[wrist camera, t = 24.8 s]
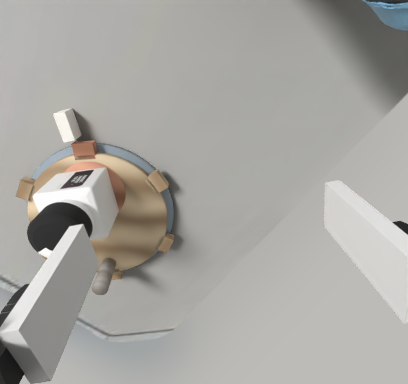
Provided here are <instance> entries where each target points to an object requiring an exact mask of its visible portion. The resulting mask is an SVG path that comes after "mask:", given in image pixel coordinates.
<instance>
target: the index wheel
mask: <svg viewBox="0 0 408 384" xmlns="http://www.w3.org/2000/svg"><path fill="white" fill-rule="evenodd" d="M71 145H72V149H73V153H74V154H73V155H69V156H67V157H64V158H62V159H60V160H58V161H56V162H55V163H53V164H52V165H51V166H49V167H48V168H47V169H46V170H45V171H43V172H42V173H41V174H40V176H39V177H38V178H37V179H36V180H33V179H30V178H28V177H24V178H23V179H22V180H20V184H19V187H18V191H17V194H16V197H19V198H21V199H24V200H27V201H28V216H29V220H30V223H31V221H32V220H33V219H34V218H35V217H36V216H37V215H38V214H39V211H38V209H37V207H36V204H35V202H34V200H33V195H34V194H35V193H36V192H37V191H38V190H39V189H40V188H42V187H43V186H44V185H45V184H46V183H47V182H48V181H49V180H50V179H51V178H53V177H54V176H55V175H56V174H59V173H67V172H74V171H81V170H89V169H96V168H103V167H105V168H107V171H108V174H109V178H110V181H111V185H112V188H113V192H114V195H115V199H116V202H117V206H118V209H119V212H118V214H117V216H116V219H115V221H114V223H113V226H112V228H111V230H110V232H109V235H108V237H106V238H101V239H93V240H90V241H91V244H92V246H93V249H94V251H95V254H96V256H97V259H98V261H99V267H98V269H97V271H96V272H98V274H97V277H96V279H95V281H94V284H93V286H92V291H93V292H94V293H95V294H97V295H104V294H106V293H107V291H108V288H109V285H110V282H111V280H116V279H121V278H122V275H123V270H127V269H130V268H133V267H135V266H137V265H139V264H141V263H143V262H144V261H146V260H147V259H149V258H150V257H151V256H152V255H153V254H154V253H155V252H156V251H157V250H159V251H162V252H164V253H167V252H168V250H169V248H170V247H171V245H172V243H173V241H174V235H172V234H169V233H166V228H167V219H168V216H167V206H166V202H165V199H164V196H163V194H162V192H161V191H163V190H165V189H166V188H168V187H169V183H168V181H167V180H166V179H165V177H164V176H163V175H162V173H161V172H160V171H159V170H158V169H157V170H155V171H154V172H152V173H151V174H149V175H148V174H147V173H146V172H145V171H144V170H143V169H141V168H140V167H138V166H137V165H136V164H134V163H132V162H130V161H128V160H126V159H124V158H121V157H119V156H116V155H112V154H108V153H101V152H98V151H97V146H96V141H77V142H74V143H73V144H71ZM40 255H41V254H40ZM41 256H43V255H41ZM43 257H44V258H45V259H46V260H47V257H45V256H43Z"/></svg>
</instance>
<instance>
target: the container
mask: <svg viewBox="0 0 408 384" xmlns="http://www.w3.org/2000/svg"><path fill="white" fill-rule="evenodd" d="M33 200H34V202H35V204H36V207H37V209H38V211H39V214H38V215H37V216H36V217H35V218H34V219H33V220H32V221H31V223H30V224H29V226H28V230H27V235H28V239H29V242H30V244H31V245H32V247H33V248H34V249H35V250H36V251H37V252H38V253H39V254H41V255H43V256H45V257H47V258H48V257H49V255H50V254H51V253H52V251H53V250H54V248H55V247H56V245H57V244H58V242H59V241H60V239H61V238H62V237H63V235H64V234H65V232H66V231H67V229H68V228H69V226H75V225H80V224H84V227H85V229H86V232H87V234H88V237H89V239H90V240H93V239H101V238H106V237H108V235H109V232H110V230H111V228H112V226H113V223H114V221H115V219H116V216H117V214H118V212H119V209H118V206H117V202H116V199H115V195H114V192H113V188H112V185H111V181H110V178H109V174H108V171H107V168H105V167H103V168H96V169H89V170H81V171H74V172H67V173H59V174H56V175H55V176H54V177H53V178H51V179H50V180H49V181H48V182H47V183H46V184H45V185H44V186H43V187H42V188H40V189H39V190H38V191H37V192H36V193H35V194H34V195H33Z"/></svg>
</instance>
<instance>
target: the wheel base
mask: <svg viewBox="0 0 408 384" xmlns="http://www.w3.org/2000/svg"><path fill="white" fill-rule="evenodd" d="M53 115H54V118H55V120H56V123H57V126H58V128H59V131H60V133H61V136H62V139H63V141H64V142H68V141H74V140H76V139H77V138H79V137H80V136H81V135H82V134H81V132H80V129H79V126H78V123H77V120H76V117H75V115H74V112H73V109H67V110H61V111H59V112H57V113H54V114H53ZM96 146H97V151H98V152H101V153H108V154H112V155H116V156H119V157H121V158H124V159H126V160H128V161H130V162H132V163H134V164H136V165H137V166H138V167H140V168H141V169H143V170H144V171H145V172H146V173H147V174H148V175H149V174H151V173H152V172H154V171H155V170H156V169H155V168H153V167H152V166H151V165H150V164H149V163H148V162H147V161H145V160H144V159H142V158H141V157H140V156H138V155H136V154H134V153H132V152H130V151H128V150H125V149H123V148H120V147H117V146H113V145H108V144H101V143H96ZM73 154H74V153H73V149H72V146H71V147H68V148H65V149H63V150H61V151H59V152H57V153H55V154H54V155H52V156H51V157H49V158H48V159H47V160H46V161H44V162H43V163H42V164H41V165H40V167H39V168H38V169H37V170H36V172H35V173H34V175H33V176H32V179H33V180H36V179H37V178H38V177H39V176H40V174H41V173H42V172H43V171H45V170H46V169H47V168H48V167H49V166H51V165H52V164H53V163H55V162H56V161H58V160H60V159H62V158H64V157H67V156H69V155H73ZM161 192H162V194H163V196H164V199H165V202H166V206H167V216H168V219H167V228H166V233H169V234H170V232H171V229H172V225H173V218H174V207H173V201H172V197H171V194H170V191H169V189H168V188H166V189H165V190H163V191H161ZM27 210H28V201H27ZM158 251H159V250H157V251H156V252H155V253H154V254H153V255H152V256H154V255H155V254H156V253H157V252H158ZM152 256H151V257H152ZM151 257H150V258H151ZM147 260H148V259H147ZM144 262H145V261H144Z"/></svg>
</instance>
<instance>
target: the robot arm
mask: <svg viewBox="0 0 408 384" xmlns="http://www.w3.org/2000/svg"><path fill="white" fill-rule="evenodd" d="M362 1H363V2H365V3H366V4H368V5H369V6H370V7H371V8H372V10H373V11H374V12H375V14H376V15H377V16H378V18H379V19H380V20H381V21H382V22H383V23H384V24H385V25H386V26H389V27H392V28H394V29H397V30H403V31H408V0H362ZM324 227H325V228H326V229H327V230H328V231H329V233H330V234H331V235H332V236H333V238H334V239H335V240H336V241H337V243H338V244H339V245H340V246H341V247H342V249H343V250H344V251H345V252H346V253H347V255H348V256H349V257H350V258H351V260H352V261H353V262H354V263H355V265H356V266H357V267H358V268H359V269H360V271H361V272H362V273H363V274H364V276H365V277H366V278H367V279H368V280H369V282H370V283H371V284H372V285H373V286H374V288H375V289H376V290H377V291H378V293H379V294H380V295H381V296H382V298H383V299H384V300H385V301H386V302H387V304H388V305H389V306H390V307H391V308H392V310H393V311H394V312H395V313H396V314H397V316H398V317H399V318H400V319H401V321H402V322H403V323H404V324H405V323H408V224H406V223H404V222H401V221H397V222H391V221H390V220H389V219H387V218H386V217H385V216H383V215H382V214H381V213H380V212H378V211H377V210H376V209H375V208H373V207H372V206H371V205H369V204H368V203H367V202H366V201H365V200H363V199H362V198H361V197H360V196H358V195H357V194H356V193H355V192H353V191H352V190H351V189H350V188H348V187H347V186H346V185H345V184H343V183H342V182H341V181H340V180H338V181H332V182H326V183H325V208H324ZM98 267H99V261H98V259H97V256H96V254H95V251H94V249H93V246H92V244H91V241H90V239H89V237H88V234H87V232H86V229H85V227H84V224H80V225H75V226H69V228H68V229H67V231H66V232H65V234H64V235H63V237H62V238H61V239H60V241H59V242H58V244H57V245H56V247H55V248H54V250H53V251H52V253H51V254H50V255H49V257H48V258H47V260H46V261H45V263H44V264H43V266H42V267H41V269H40V270H39V271H38V273H37V274H36V276H35V277H34V279H33V280H32V282H31V283H30V284H26V285H24V286H23V287H22V288H20V289H19V290H18V291H17V292H16V293H15V294H14V295H13V296H12V298H11V299H10V300H9V302H8V303H7V306H5V307H4V309H3V310H2V311H1V314H0V384H19V383H20V381H21V379H22V377H23V375H25V376H26V378H27V379H28V381H29V382H30V384H34V383H40V382H46V381H51V379H52V377H53V375H54V372H55V370H56V367H57V365H58V363H59V360H60V358H61V355H62V353H63V351H64V348H65V346H66V343H67V341H68V339H69V336H70V334H71V331H72V329H73V327H74V324H75V322H76V319H77V317H78V315H79V312H80V310H81V307H82V305H83V303H84V300H85V298H86V295H87V293H88V291H89V288H90V286H91V283H92V281H93V279H94V276H95V274H96V271H97V269H98Z"/></svg>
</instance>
